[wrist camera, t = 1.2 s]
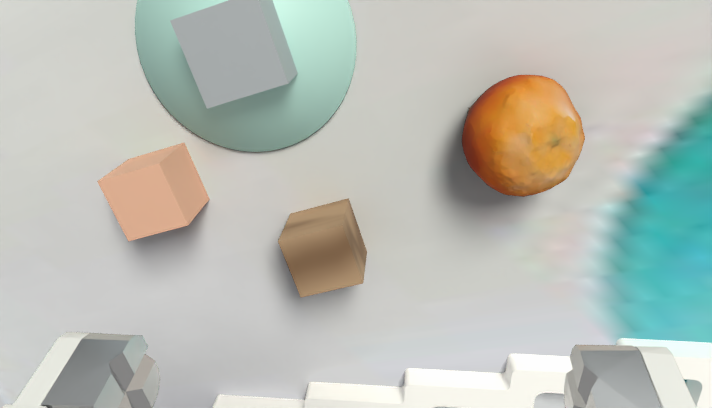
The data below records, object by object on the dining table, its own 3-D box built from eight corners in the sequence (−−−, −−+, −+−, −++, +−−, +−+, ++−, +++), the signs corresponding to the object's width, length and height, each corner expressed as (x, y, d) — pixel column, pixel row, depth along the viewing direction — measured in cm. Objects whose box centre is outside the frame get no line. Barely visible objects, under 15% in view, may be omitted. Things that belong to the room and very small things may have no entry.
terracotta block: (209, 198, 45) (188, 225, 40) (155, 213, 46) (128, 241, 41) (184, 142, 43) (159, 163, 38) (128, 158, 44) (97, 181, 39)
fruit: (421, 96, 39) (495, 102, 32) (508, 60, 41) (594, 58, 34) (447, 198, 42) (520, 224, 35) (526, 158, 44) (609, 176, 37)
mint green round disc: (383, 118, 41) (381, 133, 37) (191, 173, 44) (172, 192, 40) (313, -117, 35) (303, -126, 32) (97, -35, 38) (65, -36, 34)
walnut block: (366, 251, 46) (363, 283, 41) (310, 264, 47) (300, 297, 42) (348, 198, 44) (342, 225, 39) (290, 213, 45) (277, 241, 40)
